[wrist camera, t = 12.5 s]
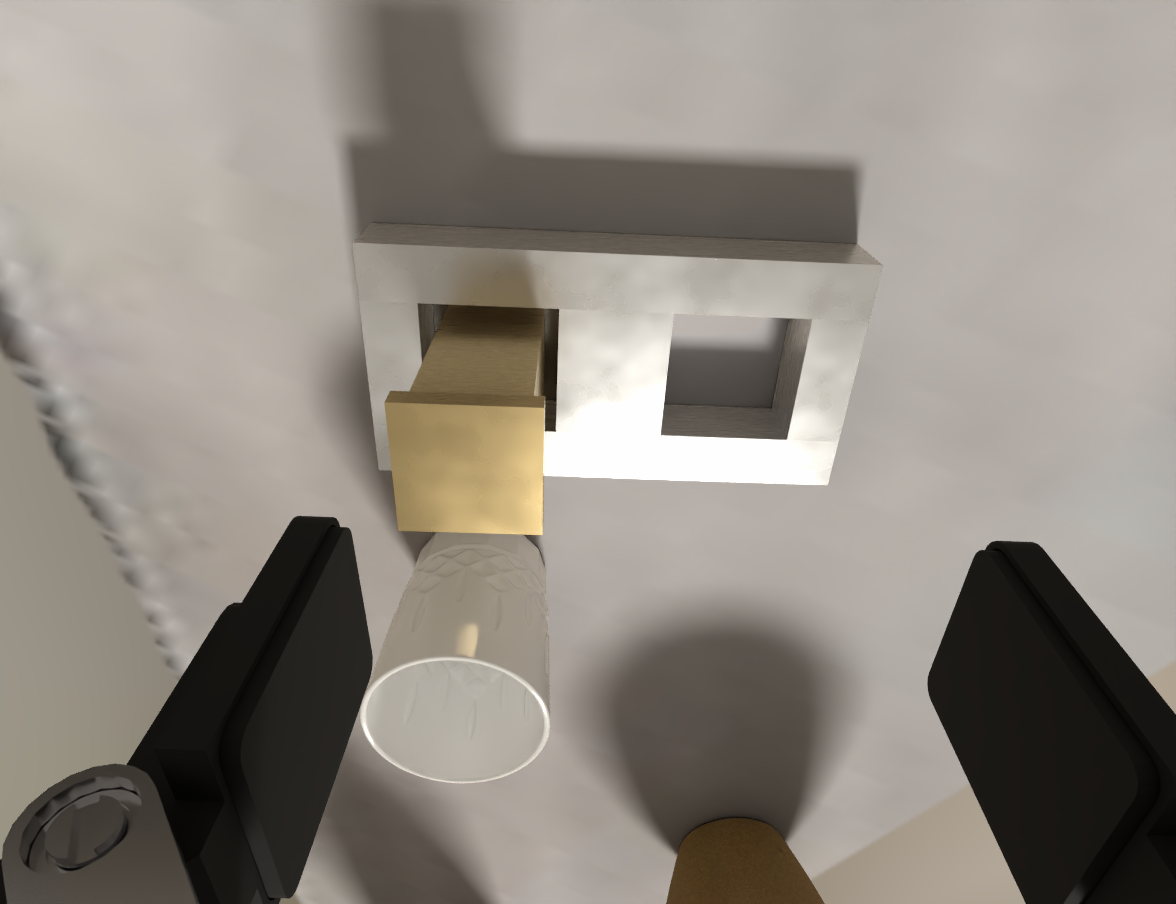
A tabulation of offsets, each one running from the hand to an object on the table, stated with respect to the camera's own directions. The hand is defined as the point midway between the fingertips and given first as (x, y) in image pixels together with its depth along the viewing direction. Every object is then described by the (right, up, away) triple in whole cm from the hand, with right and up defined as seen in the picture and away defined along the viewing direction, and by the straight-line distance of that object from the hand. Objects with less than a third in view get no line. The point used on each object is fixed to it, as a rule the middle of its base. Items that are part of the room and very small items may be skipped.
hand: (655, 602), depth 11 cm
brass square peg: (-5, +7, +21) cm, 23 cm away
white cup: (-7, -4, +28) cm, 29 cm away
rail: (0, +7, +22) cm, 23 cm away
